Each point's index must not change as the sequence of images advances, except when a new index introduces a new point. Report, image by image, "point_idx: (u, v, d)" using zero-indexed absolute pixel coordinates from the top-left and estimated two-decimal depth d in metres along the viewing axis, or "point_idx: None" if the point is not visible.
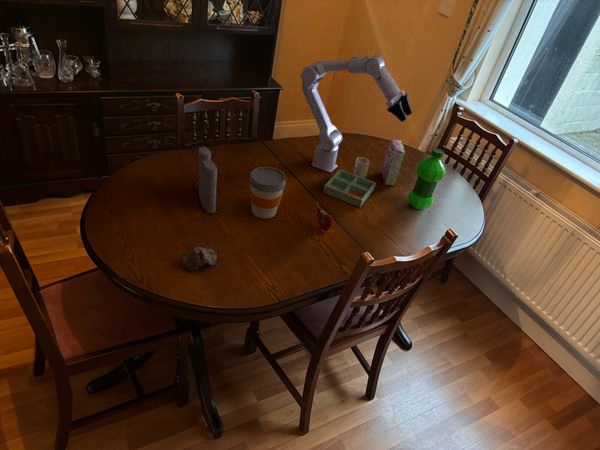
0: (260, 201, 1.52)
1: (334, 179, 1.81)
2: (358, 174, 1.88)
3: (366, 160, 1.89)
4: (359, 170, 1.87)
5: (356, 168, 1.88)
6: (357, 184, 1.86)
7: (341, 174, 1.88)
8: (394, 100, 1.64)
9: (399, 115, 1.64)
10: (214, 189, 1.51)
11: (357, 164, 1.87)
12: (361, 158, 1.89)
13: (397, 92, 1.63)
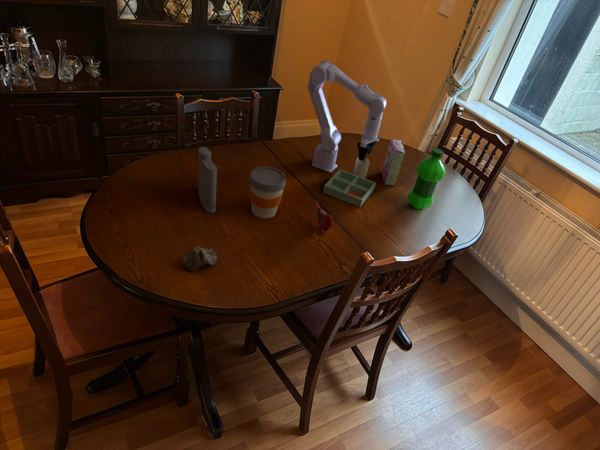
0: (260, 201, 1.52)
1: (334, 179, 1.81)
2: (358, 174, 1.88)
3: (366, 160, 1.89)
4: (359, 170, 1.87)
5: (356, 168, 1.88)
6: (357, 184, 1.86)
7: (341, 174, 1.88)
8: None
9: (361, 154, 1.81)
10: (214, 189, 1.51)
11: (357, 164, 1.87)
12: None
13: (374, 138, 1.78)
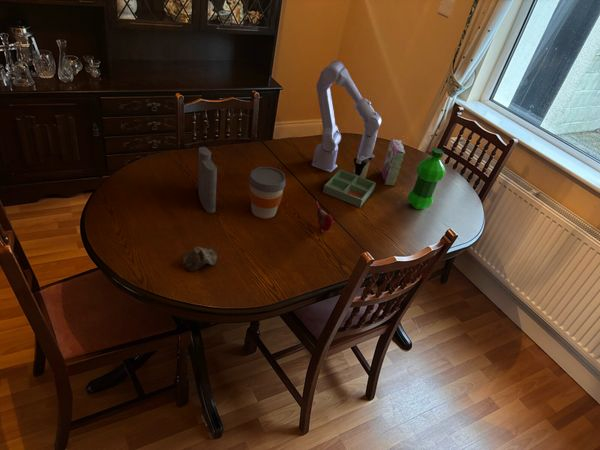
0: (260, 201, 1.52)
1: (334, 179, 1.81)
2: None
3: (366, 160, 1.89)
4: None
5: None
6: (357, 184, 1.86)
7: (341, 174, 1.88)
8: None
9: (357, 169, 1.86)
10: (214, 189, 1.51)
11: None
12: None
13: (369, 154, 1.83)
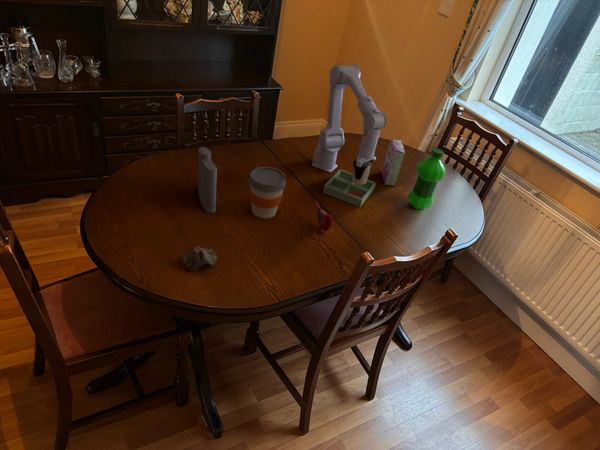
0: (260, 201, 1.52)
1: (334, 179, 1.81)
2: None
3: (367, 163, 1.72)
4: None
5: None
6: (357, 184, 1.86)
7: (341, 174, 1.88)
8: None
9: (357, 173, 1.69)
10: (214, 189, 1.51)
11: None
12: None
13: (370, 156, 1.66)
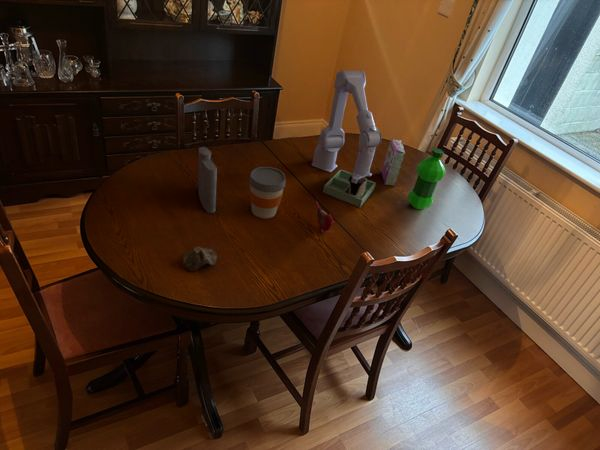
0: (260, 201, 1.52)
1: (334, 179, 1.81)
2: None
3: (363, 178, 1.74)
4: None
5: None
6: None
7: (341, 174, 1.88)
8: None
9: (353, 188, 1.71)
10: (214, 189, 1.51)
11: None
12: None
13: (366, 172, 1.67)
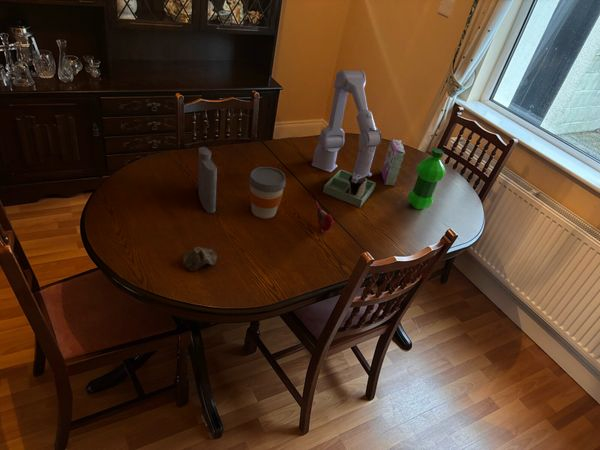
0: (260, 201, 1.52)
1: (334, 179, 1.81)
2: None
3: (363, 178, 1.74)
4: None
5: None
6: None
7: (341, 174, 1.88)
8: None
9: (353, 188, 1.71)
10: (214, 189, 1.51)
11: None
12: None
13: (366, 172, 1.67)
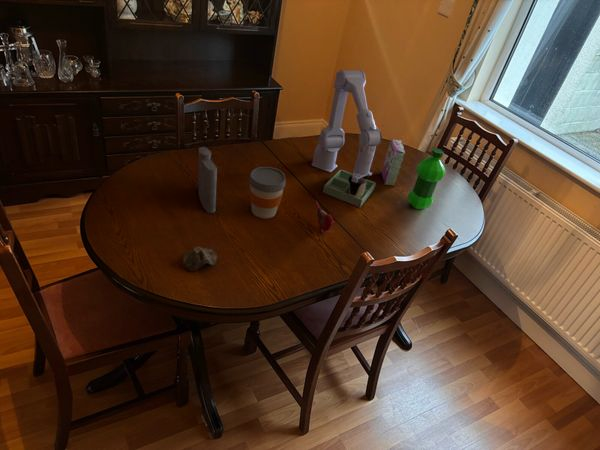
0: (260, 201, 1.52)
1: (334, 179, 1.81)
2: None
3: (362, 180, 1.74)
4: None
5: None
6: None
7: (341, 174, 1.88)
8: None
9: (353, 189, 1.70)
10: (214, 189, 1.51)
11: None
12: None
13: (366, 172, 1.67)
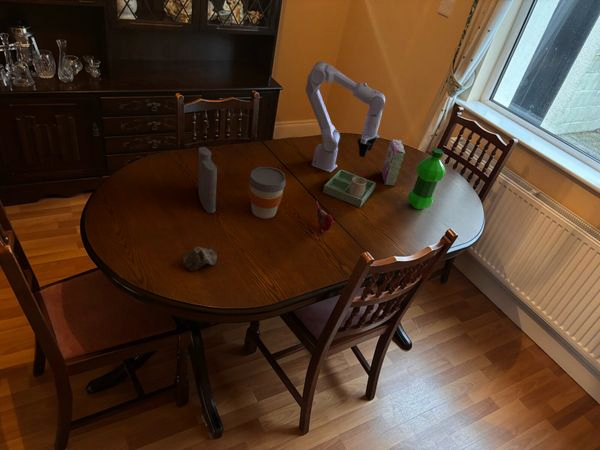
0: (260, 201, 1.52)
1: (334, 179, 1.81)
2: (354, 195, 1.73)
3: (362, 180, 1.74)
4: (355, 191, 1.72)
5: (351, 189, 1.72)
6: None
7: (341, 174, 1.88)
8: None
9: (361, 151, 1.83)
10: (214, 189, 1.51)
11: (353, 184, 1.71)
12: (357, 178, 1.74)
13: (374, 134, 1.80)
